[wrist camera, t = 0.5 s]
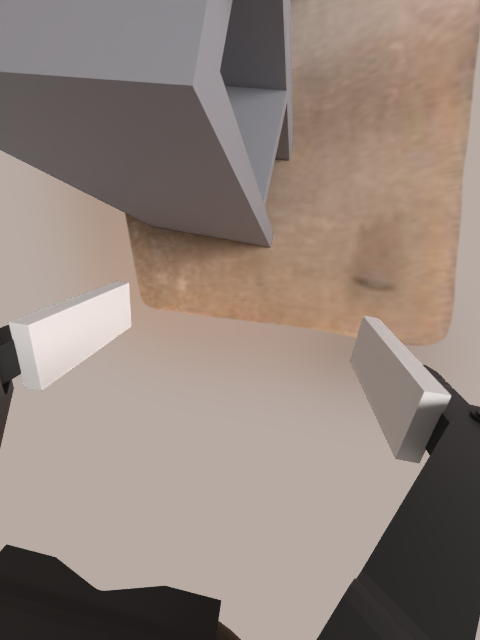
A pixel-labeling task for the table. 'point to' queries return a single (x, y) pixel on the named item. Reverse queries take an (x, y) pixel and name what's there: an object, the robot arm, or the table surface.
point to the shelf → (153, 105)
